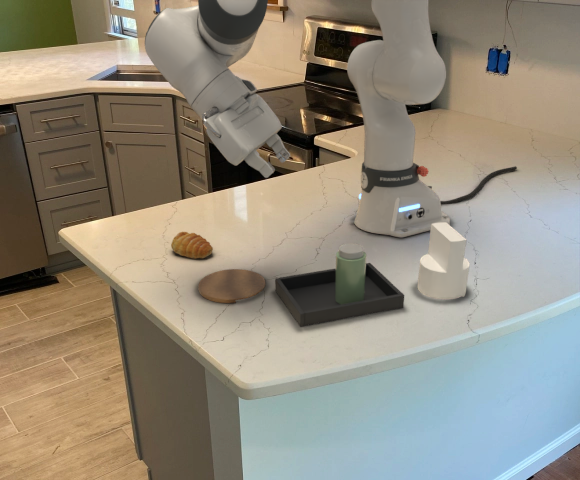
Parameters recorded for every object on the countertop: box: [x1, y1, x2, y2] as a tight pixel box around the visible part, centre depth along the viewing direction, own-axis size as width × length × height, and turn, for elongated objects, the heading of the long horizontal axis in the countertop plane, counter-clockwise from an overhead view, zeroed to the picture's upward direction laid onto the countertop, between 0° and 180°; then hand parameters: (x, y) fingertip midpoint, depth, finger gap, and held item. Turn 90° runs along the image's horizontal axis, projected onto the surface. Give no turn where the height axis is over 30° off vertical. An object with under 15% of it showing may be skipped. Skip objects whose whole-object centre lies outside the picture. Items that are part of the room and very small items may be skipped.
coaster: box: [197, 268, 266, 304], centre depth 121 cm, size 13×13×1 cm
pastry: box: [170, 231, 214, 259], centre depth 135 cm, size 9×7×4 cm
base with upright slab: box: [417, 222, 470, 301], centre depth 115 cm, size 9×9×12 cm
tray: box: [274, 262, 405, 328], centre depth 115 cm, size 20×15×3 cm
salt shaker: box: [335, 242, 367, 304], centre depth 113 cm, size 5×5×10 cm
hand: (279, 166), depth 106 cm, fingers open, 8 cm apart
